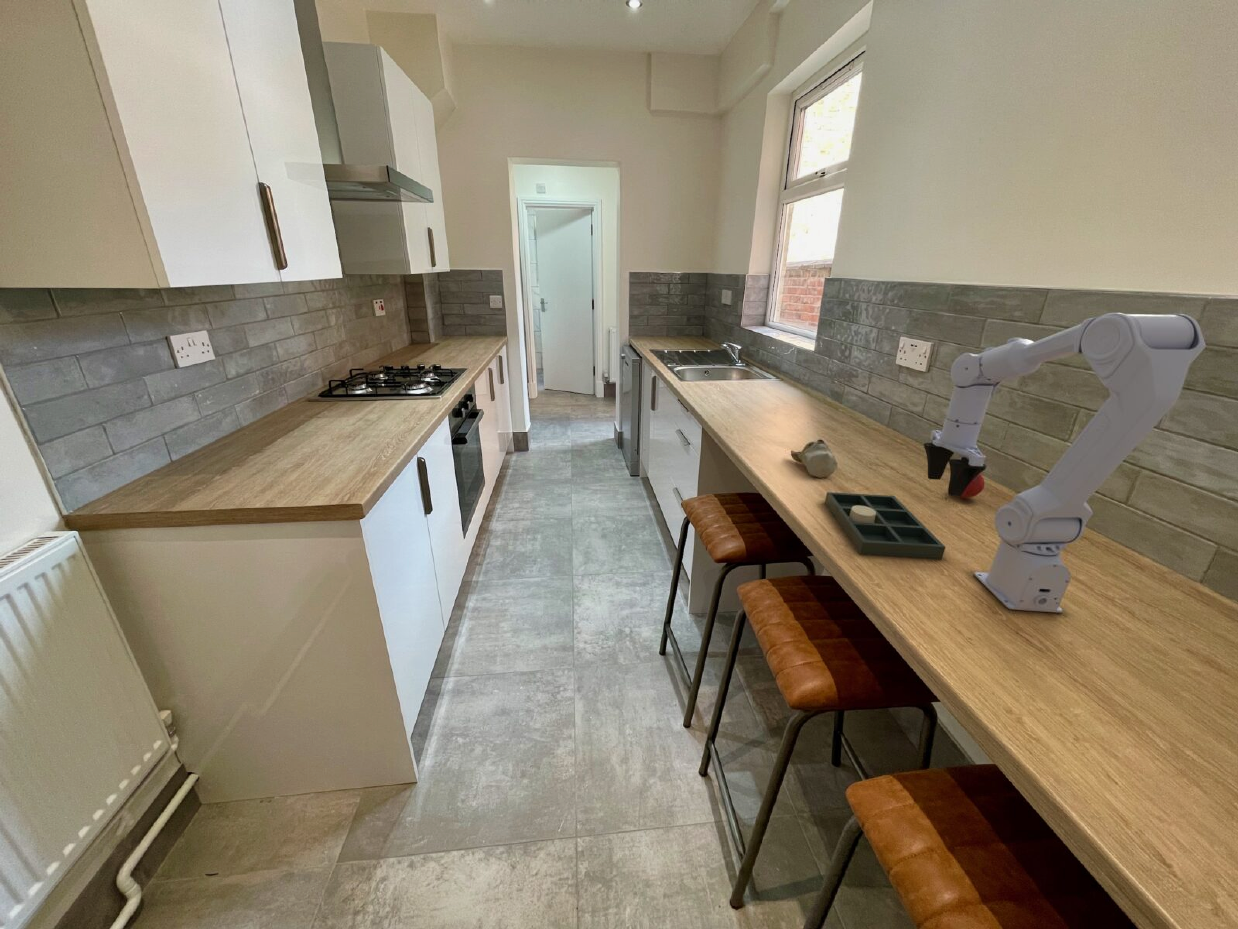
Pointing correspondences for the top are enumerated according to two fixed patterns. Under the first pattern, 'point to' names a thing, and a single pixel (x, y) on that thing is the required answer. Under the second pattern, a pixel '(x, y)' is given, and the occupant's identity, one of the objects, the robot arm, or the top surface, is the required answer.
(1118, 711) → the top surface
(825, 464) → the ceramic sculpture
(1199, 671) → the top surface
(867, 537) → the grid
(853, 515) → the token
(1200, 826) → the top surface
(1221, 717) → the top surface
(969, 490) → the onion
